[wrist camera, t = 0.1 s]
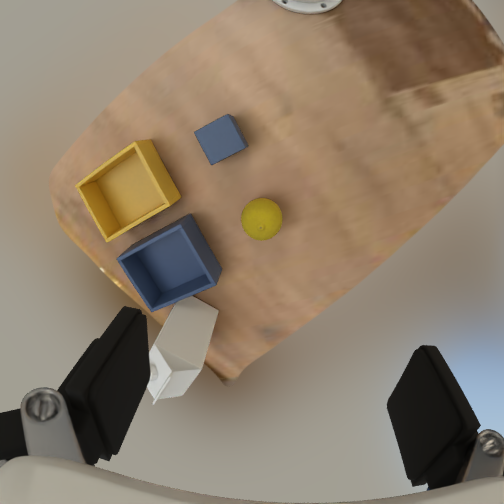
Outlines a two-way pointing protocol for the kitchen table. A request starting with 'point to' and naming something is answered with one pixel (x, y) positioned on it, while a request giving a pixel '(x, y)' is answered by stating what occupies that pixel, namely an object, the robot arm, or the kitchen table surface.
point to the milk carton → (180, 348)
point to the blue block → (221, 139)
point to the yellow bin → (128, 189)
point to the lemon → (261, 219)
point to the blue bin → (171, 264)
